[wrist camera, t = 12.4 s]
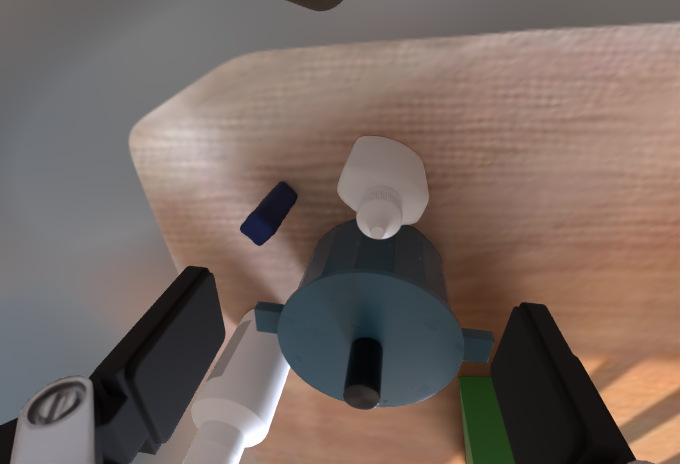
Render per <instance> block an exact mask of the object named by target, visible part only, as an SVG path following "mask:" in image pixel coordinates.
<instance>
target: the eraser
mask: <svg viewBox="0 0 680 464" xmlns="http://www.w3.org/2000/svg"><path fill="white" fill-rule="evenodd" d="M296 199H297V194H296V193H295V192H294V191H293V189H292V188H291V187H290V186H288V185H287V184H286V183H285V182H280V183H279V184H278V185H277V186H276V187H275V188H273V189H272V190H271V192H270V193H269V194H268V195H267V196H266V197H265V198H264V199H263V201H262V202H261V203H260V204H259V206H258V207H257V208H256V209H255V210H254V211H253V212H252V213H251V214H250V215H249V216H248V217H247V219H246V220H245V221H244V223H243V224H242V225H241V227H240V230H241V232H242V233H243V234H245V235H246V236H248V237H249V238H250V239H251V240H252V241H253V242H254V243H255V244H256V245H258V246H261V245H263V244H264V243H265V242H266V241H267V240H268V239H270V237H271V236H273V235H274V234H275V233H276V231H277V229H278V228H279V226H280V225H281V223H282V221H283V220H284V219H285V217H286V215H287V214H288V212H289V211H290V209H291V207H292V206H293V205H294V204H295V202H296Z"/></svg>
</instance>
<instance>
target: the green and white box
mask: <svg viewBox="0 0 680 464" xmlns="http://www.w3.org/2000/svg"><path fill="white" fill-rule="evenodd" d="M458 378H459V388H460V399H461V410H462V420H463V431H464V442H465V452H466V463H467V464H515V461H514V458H513V454H512V451H511V447H510V444H509V440H508V436H507V433H506V429H505V426H504V422H503V419H502V415H501V411H500V408H499V404H498V401H497V397H496V394H495V390H494V386H493V383H492V379H491V376H488V377H458Z"/></svg>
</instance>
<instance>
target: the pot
mask: <svg viewBox="0 0 680 464" xmlns="http://www.w3.org/2000/svg"><path fill="white" fill-rule="evenodd" d="M360 268H361V269H376V270H382V271H388V272H391V273H395V274H399V275H402V276H404V277H407V278H409V279H412V280H414V281H416V282H418V283H420V284H422V285H424V286H425V287H427V288H428V289H430V290H431V291H433V292H434V293H435V294H437V295H438V296H439V297H440V298H441V299H442V300H443V301H444V302H445V303H446V304H447V305H448V306H449V308H450V309H451V305H450V299H449V294H448V289H447V284H446V278H445V274H444V270H443V267H442V262H441V260H440V256H439V254H438V252H437V251H436V249H435V247H434V246H433V245H432V243H431V242H430V241H429V240H428V239H427V238H426V237H425V236H424V235H423V234H421V233H420V232H419V231H417V230H416V229H414V228H412V227H411V226H409V225H401V227H400V229H399V230H398V231H397V233H395V234H394V235H393V236H392V237H389V238H385V239H373V238H371V237H369V236H367V235H365V234H364V233H363V232H362V231H361V230H360V229H359V227H358V225H357V221H356V219H354V220H350V221H348V222H345V223H342V224H340V225H338V226H336V227H335V228H333V229H332V230H330V231H329V232H328V233H327V234H326V235H325V236H324V237H323V238H322V239H321V240H320V241H319V242H318V244H317V246H316V248H315V250H314V252H313V254H312V256H311V258H310V261H309V263H308V265H307V268H306V270H305V272H304V275H303V277H302V280H301V282H300V284H299V287H298V288H300V287H301V286H302V285H303V284H305V283H307V282H308V281H310V280H312V279H314V278H316V277H318V276H321V275H323V274H327V273H330V272H334V271H339V270H345V269H360ZM283 307H284V305H283V304H275V303H268V302H260V301H259V302H258V303H257V305H256V307H255V309H254V312H255V320H256V328H257V331H258V332H266V333H273V334H277V326H278V321H279V317H280V314H281V312H282V309H283ZM461 329H462V334H463V339H464V357H463V361H469V362H476V363H483V364H487V362H488V359H489V357H490V354H491V351H492V348H493V345H494V343H495V341H494V337H493V334H492V332H489V331H482V330H474V329H466V328H461Z"/></svg>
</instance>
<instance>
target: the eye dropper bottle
mask: <svg viewBox="0 0 680 464" xmlns="http://www.w3.org/2000/svg"><path fill="white" fill-rule="evenodd" d="M337 193H338V195H339V197H340V198H341V199H342V200H343V201H344V202H345V203H346V204H347V205H348V206H349V207H350V208H352V209H353V210H354V211H356V212H357V215H356V216H357V217H356V221H357V225H358V227H359V229H360V230H361V231H362V232H363V233H364V234H365V235H367V236H369V237H371V238H373V239H385V238H389V237H392V236H393V235H394V234H395V233H397V231H398V230H399V229H400V227H401V225H409V224H413V223H416V222H417V221H418V220H419V219H420V217H421V216H422V214H423V212H424V210H425V208H426V206H427V204H428V199H429V193H428V186H427V180H426V175H425V169H424V164H423V162H422V160H421V158H420V157H419V156H418V155H417V154H416V153H415V152H413V151H412V150H411V149H410V148H408V147H407V146H405V145H403V144H402V143H400V142H397V141H395V140H392V139H389V138H385V137H380V136H362V137H360V138H358V139H357V140H356V142H355V144H354V146H353V148H352V150H351V152H350V155H349V157H348V159H347V161H346V164H345V166H344V169H343V171H342V174H341V176H340V179H339V182H338V185H337Z"/></svg>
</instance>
